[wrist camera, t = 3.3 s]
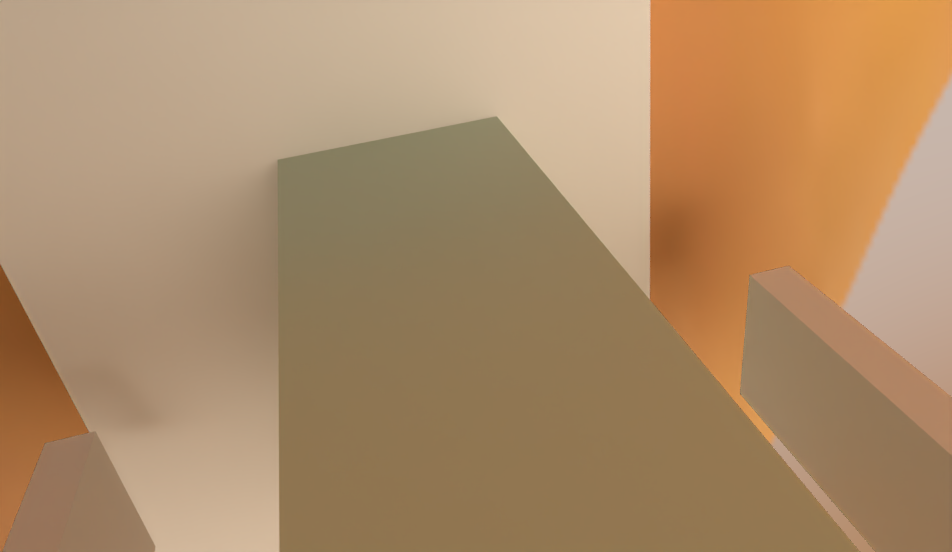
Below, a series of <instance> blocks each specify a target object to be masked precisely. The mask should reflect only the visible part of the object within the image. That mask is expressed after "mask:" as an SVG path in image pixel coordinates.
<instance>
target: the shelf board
mask: <svg viewBox="0 0 952 552" xmlns="http://www.w3.org/2000/svg"><path fill="white" fill-rule="evenodd" d="M496 116H497V117H498V118H499V119H500V121H501V122H502V123H503V124H504V125H505V127H506V128H507V129H508V130H509V131H510V133H511V134H512V135H513V136H514V137H515V139H516V140H517V141H518V142H519V143H520V145H521V146H522V147H523V148H524V149H525V151H526V152H527V153H528V154H529V155H530V157H531V158H532V159H533V160H534V161H535V163H536V164H537V165H538V166H539V167H540V169H541V170H542V171H543V172H544V173H545V175H546V176H547V177H548V178H549V179H550V181H551V182H552V183H553V184H554V185H555V187H556V188H557V189H558V190H559V191H560V193H561V194H562V195H563V196H564V197H565V199H566V200H567V201H568V202H569V203H570V205H571V206H572V207H573V208H574V209H575V211H576V212H577V213H578V214H579V215H580V217H581V218H582V219H583V220H584V221H585V223H586V224H587V225H588V226H589V227H590V229H591V230H592V231H593V232H594V233H595V235H596V236H597V237H598V238H599V239H600V241H601V242H602V243H603V244H604V245H605V247H606V248H607V249H608V250H609V251H610V253H611V254H612V255H613V256H614V257H615V259H616V260H617V261H618V262H619V263H620V264H621V266H622V267H623V268H624V269H625V270H626V272H627V273H628V274H629V275H630V276H631V278H632V279H633V280H634V281H635V282H636V284H637V285H638V286H639V287H640V288H641V290H642V291H643V292H644V293H645V294H646V296H647V297H648V298H649V299H650V0H0V265H1V266H2V268H3V270H4V272H5V274H6V276H7V278H8V280H9V282H10V283H11V285H12V287H13V289H14V291H15V293H16V295H17V297H18V299H19V300H20V302H21V304H22V306H23V308H24V310H25V312H26V314H27V316H28V318H29V319H30V321H31V323H32V325H33V327H34V329H35V331H36V333H37V335H38V336H39V338H40V340H41V342H42V344H43V346H44V348H45V350H46V352H47V353H48V355H49V357H50V359H51V361H52V363H53V365H54V367H55V369H56V370H57V372H58V374H59V376H60V378H61V380H62V382H63V384H64V386H65V388H66V389H67V391H68V393H69V395H70V397H71V399H72V401H73V403H74V405H75V406H76V408H77V410H78V412H79V414H80V416H81V418H82V420H83V422H84V423H85V425H86V427H87V429H88V431H89V433H90V432H94V431H96V433H97V435H98V437H99V439H100V441H101V443H102V445H103V446H104V448H105V450H106V452H107V454H108V456H109V458H110V460H111V462H112V464H113V466H114V468H115V470H116V471H117V473H118V475H119V477H120V479H121V481H122V483H123V485H124V487H125V489H126V491H127V493H128V494H129V496H130V498H131V500H132V502H133V504H134V506H135V508H136V510H137V512H138V514H139V516H140V518H141V519H142V521H143V523H144V525H145V527H146V529H147V531H148V533H149V535H150V537H151V539H152V541H153V542H154V544H155V546H156V547H155V552H279V356H278V160H279V159H284V158H289V157H294V156H299V155H304V154H309V153H314V152H319V151H324V150H329V149H334V148H339V147H344V146H349V145H354V144H359V143H364V142H370V141H375V140H380V139H385V138H390V137H395V136H400V135H405V134H410V133H415V132H420V131H425V130H430V129H435V128H440V127H445V126H450V125H455V124H460V123H465V122H471V121H476V120H481V119H486V118H491V117H496Z"/></svg>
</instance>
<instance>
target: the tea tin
mask: <svg viewBox="0 0 952 552" xmlns="http://www.w3.org/2000/svg"><path fill="white" fill-rule="evenodd" d="M278 356H279V552H860V551H859V550H858V549H857V547H856V546H855V545H854V544H853V543H852V541H851V540H850V539H849V538H848V537H847V535H846V534H845V533H844V532H843V531H842V529H841V528H840V527H839V526H838V525H837V523H836V522H835V521H834V520H833V519H832V517H831V516H830V515H829V514H828V513H827V511H826V510H825V509H824V508H823V507H822V506H821V504H820V503H819V502H818V501H817V499H816V498H815V497H814V496H813V495H812V493H811V492H810V491H809V490H808V489H807V488H806V486H805V485H804V484H803V483H802V481H801V480H800V479H799V478H798V477H797V475H796V474H795V473H794V472H793V471H792V469H791V468H790V467H789V466H788V465H787V464H786V462H785V461H784V460H783V459H782V458H781V456H780V455H779V454H778V453H777V452H776V450H775V449H774V448H773V447H772V445H771V444H770V443H769V442H768V441H767V439H766V438H765V437H764V436H763V435H762V433H761V432H760V431H759V430H758V429H757V428H756V426H755V425H754V424H753V423H752V422H751V420H750V419H749V418H748V417H747V416H746V414H745V413H744V412H743V411H742V410H741V408H740V407H739V406H738V405H737V404H736V402H735V401H734V400H733V399H732V398H731V396H730V395H729V394H728V393H727V392H726V390H725V389H724V388H723V387H722V386H721V384H720V383H719V382H718V381H717V380H716V378H715V377H714V376H713V375H712V374H711V372H710V371H709V370H708V369H707V368H706V366H705V365H704V364H703V363H702V362H701V360H700V359H699V358H698V357H697V356H696V354H695V353H694V352H693V351H692V350H691V348H690V347H689V346H688V345H687V344H686V342H685V341H684V340H683V339H682V338H681V336H680V335H679V334H678V333H677V332H676V330H675V329H674V328H673V327H672V326H671V324H670V323H669V322H668V321H667V320H666V318H665V317H664V316H663V315H662V314H661V312H660V311H659V310H658V309H657V308H656V306H655V305H654V304H653V303H652V302H651V300H650V299H649V298H648V297H647V296H646V294H645V293H644V292H643V291H642V290H641V288H640V287H639V286H638V285H637V284H636V282H635V281H634V280H633V279H632V278H631V276H630V275H629V274H628V273H627V272H626V270H625V269H624V268H623V267H622V266H621V264H620V263H619V262H618V261H617V260H616V259H615V257H614V256H613V255H612V254H611V253H610V251H609V250H608V249H607V248H606V247H605V245H604V244H603V243H602V242H601V241H600V239H599V238H598V237H597V236H596V235H595V233H594V232H593V231H592V230H591V229H590V227H589V226H588V225H587V224H586V223H585V221H584V220H583V219H582V218H581V217H580V215H579V214H578V213H577V212H576V211H575V209H574V208H573V207H572V206H571V205H570V203H569V202H568V201H567V200H566V199H565V197H564V196H563V195H562V194H561V193H560V191H559V190H558V189H557V188H556V187H555V185H554V184H553V183H552V182H551V181H550V179H549V178H548V177H547V176H546V175H545V173H544V172H543V171H542V170H541V169H540V167H539V166H538V165H537V164H536V163H535V161H534V160H533V159H532V158H531V157H530V155H529V154H528V153H527V152H526V151H525V149H524V148H523V147H522V146H521V145H520V143H519V142H518V141H517V140H516V139H515V137H514V136H513V135H512V134H511V133H510V131H509V130H508V129H507V128H506V127H505V125H504V124H503V123H502V122H501V121H500V119H499V118H498V117H497V116H496V117H491V118H486V119H481V120H476V121H471V122H465V123H460V124H455V125H450V126H445V127H440V128H435V129H430V130H425V131H420V132H415V133H410V134H405V135H400V136H395V137H390V138H385V139H380V140H375V141H370V142H364V143H359V144H354V145H349V146H344V147H339V148H334V149H329V150H324V151H319V152H314V153H309V154H304V155H299V156H294V157H289V158H284V159H279V160H278Z"/></svg>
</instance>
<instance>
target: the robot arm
mask: <svg viewBox="0 0 952 552" xmlns="http://www.w3.org/2000/svg"><path fill="white" fill-rule="evenodd" d="M740 394H741V395H742V396H743V398H744V399H745V400H746V401H747V402H748V403H749V405H750V406H751V407H752V408H753V409H754V410H755V412H756V413H757V414H758V415H759V416H760V417H761V419H762V420H763V421H764V422H765V423H766V425H767V426H768V427H769V428H770V429H771V430H772V432H773V433H774V434H775V435H776V436H777V437H778V439H780V441H781V442H782V443H783V444H784V446H785V447H786V448H787V449H788V450H789V451H790V453H791V454H792V455H793V456H794V457H795V458H796V459H797V461H798V462H799V463H800V464H801V465H802V466H803V468H804V469H805V470H806V471H807V472H808V473H809V475H810V476H811V477H812V478H813V479H814V481H815V482H816V483H817V484H818V485H819V486H820V488H821V489H822V490H823V491H824V492H825V493H826V494H827V496H828V497H829V498H830V499H831V500H832V502H833V503H834V504H835V505H836V506H837V507H838V509H839V510H840V511H841V512H842V513H843V514H844V515H845V517H846V518H847V519H848V520H849V521H850V523H851V524H852V525H853V526H854V527H855V528H856V530H857V531H858V532H859V533H860V534H861V536H862V537H863V538H864V539H865V540H866V541H867V542H868V544H869V545H870V546H871V547H872V548H873V550H874V551H875V552H952V397H951V396H950V395H948V394H947V393H946V392H945V391H944V390H942V389H941V388H940V387H938V386H937V385H936V384H935V383H934V382H932V381H931V380H930V379H929V378H927V377H926V376H925V375H924V374H922V373H921V372H920V371H919V370H917V369H916V368H915V367H914V366H913V365H911V364H910V363H909V362H908V361H906V360H905V359H904V358H903V357H901V356H900V355H899V354H898V353H896V352H895V351H894V350H893V349H892V348H890V347H889V346H888V345H887V344H885V343H884V342H883V341H882V340H880V339H879V338H878V337H876V336H875V335H874V334H873V333H872V332H870V331H869V330H868V329H867V328H865V327H864V326H863V325H862V324H860V323H859V322H858V321H857V320H856V319H854V318H853V317H852V316H851V315H849V314H848V313H847V312H846V311H844V310H843V309H842V308H841V307H839V306H838V305H837V304H836V303H835V302H833V301H832V300H831V299H830V298H828V297H827V296H826V295H825V294H823V293H822V292H821V291H820V290H818V289H817V288H816V287H815V286H813V285H812V284H811V283H810V282H809V281H807V280H806V279H805V278H804V277H802V276H801V275H800V274H799V273H797V272H796V271H795V270H794V269H792V268H791V267H790V266H785V267H781V268H777V269H773V270H768V271H764V272H760V273H756V274H752V275H750V278H749V290H748V302H747V314H746V326H745V338H744V350H743V363H742V375H741V387H740ZM155 547H156V546H155V544H154V542H153V541H152V539H151V537H150V535H149V533H148V531H147V529H146V527H145V525H144V523H143V521H142V519H141V518H140V516H139V514H138V512H137V510H136V508H135V506H134V504H133V502H132V500H131V498H130V496H129V494H128V493H127V491H126V489H125V487H124V485H123V483H122V481H121V479H120V477H119V475H118V473H117V471H116V470H115V468H114V466H113V464H112V462H111V460H110V458H109V456H108V454H107V452H106V450H105V448H104V446H103V445H102V443H101V441H100V439H99V437H98V435H97V433H96V431H94V432H90V433H86V434H81V435H77V436H73V437H69V438H65V439H60V440H56V441H52V442H48V443H45V444H44V447H43V449H42V452H41V454H40V457H39V459H38V462H37V464H36V467H35V469H34V472H33V475H32V477H31V480H30V482H29V485H28V487H27V490H26V492H25V495H24V497H23V500H22V502H21V505H20V508H19V510H18V513H17V515H16V518H15V520H14V523H13V525H12V528H11V530H10V533H9V535H8V538H7V541H6V543H5V546H4V548H3V551H2V552H155Z"/></svg>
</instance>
